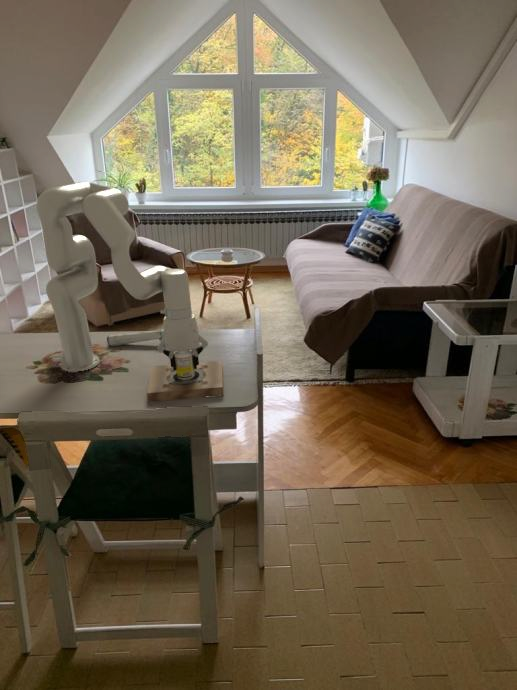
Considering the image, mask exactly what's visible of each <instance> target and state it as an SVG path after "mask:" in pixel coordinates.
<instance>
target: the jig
mask: <svg viewBox="0 0 517 690" xmlns="http://www.w3.org/2000/svg"><path fill="white" fill-rule="evenodd" d="M223 376H224V374H223V361H222V360H215V361H213V360H212V361H203V362H202V361H201V362H200V361H199V365H197V369H195V376H194V377H193V378H191V379H192V380H191V381H183V380H182V379H179V378H178V377H177V371H176V370H175V371H174V370H173V367H171V364H163V365H153V366H152V369H151V374H150V378H149V382H148V386H147V390H146V391H147V392H146V396H147V403H153V402H155V403H156V402H164V401H165V402H166V401H167V402H169V401H179V400H189V399H190V400H191V399H200V398H199V397H206V396H218V397H220V396H219V395H223V396H224V377H223ZM182 381H183V382H182ZM206 398H207V397H206Z"/></svg>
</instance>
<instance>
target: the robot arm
mask: <svg viewBox="0 0 517 690" xmlns="http://www.w3.org/2000/svg"><path fill="white" fill-rule="evenodd" d="M129 205H130V204H129V200H128V198H127V196H126V195H125V193H123V192H122V191H121V190H119V189H118V188H114V187H111V186H108V185H102V184H99V183H95V182H90V181H81V182H74V183H70V184H63V185H59V186H55V187H51V188H48V189H46V190H45V191H43V192H42V193H40V194H39V196H38V198H37V201H36V210H37V214H38V218H39V221H40V224H41V229H42V235H43V243H44V250H45V257H46V261H47V264H48V266H49V268H50V269H51V270H53V271H54V272H58V273H59V272H60V274H57V275H55V276H54V277H52V278H51V279H50V280H49V281H48V282H47V283H46V287H45V291H46V292H45V293H46V295H47V298H48V300H49V302H50V303H49V304H51V307H52V311H53V313H54V314H53V315H54V318H55V321H56V322H55V323H56V326H57V331H58V336H59V340H60V345H61V349H62V352H61V353H60V354H58V353H57V354H56V353H55V354H51V357H50V358H51V361H53V363H60V368H61V370H62V369H63V370H62V371H64V370H65V371H64V372H66V371H68V372H67V373H79V372H78V371H82V372H85V371H84V370H86V371H88V369H89V370H91V368H92V369H93V368H96V367H97V366H98V365H99V364H100V356H98V355H96V354H94V349H93V345H92V340H91V334H90V328H89V322H88V317H87V314H86V311H85V309H84V308H83V307H82V305H81V304H80V303H79V300H81V299H83V298H85V297H87V296H90V295H93V293H94V292H95V291H96V290H97V289H98V285H99V277H98V267H97V258H96V257H97V256H96V251H95V248H94V245H93V243H92V242H91V241H90V239H89V238H88V237H86V236H85V235H81V234H74V235H73V228H72V224H71V222H70V221H69V219H68V218H67V216H71V215H75V214H79V213H83V214H84V215H85V217H86V218H87V220H88V221H89V223H90V224H91V225H92V227H93V228H94V229H95V230H96V232H97V233H98V234H99V235H100V237H101V238H102V239H103V241H104V242H105V243H106V245H107V247H108V248H110V251H111V263H112V268H113V271H114V272H113V273H114V274H115V276H116V278H117V280H118V281H119V282H120V284H121V285H122V286H123V288H124V289H125V290H126V291H127V292H128V293H129V295H130V296H132V297H133V298H134V299H136V300H142V301H144V300H148V299H150V298H151V297H154V296H155V295H157V294H159V293H163V294H162V295H163V301H164V302H163V304H164V308H162V309H159V311H160V314H161V315H164V318H163V322H162V323H163V325H162V327H163V328H162V329H163V332H164V338H163V340H162V341H159V343H158V345H157V348H156V349H157V350H158V351H160V352H161V353H163V355H165V356H166V357H167V358H168V359H169V362H170V365H171V367H173V370H174V371H175V370H176V363H175V356H174V354H175V352H174V351H184V350H192V352H193V362H194V369H197V365H199V362H200V361H199V355H200V354H201V353H202V352H203V351H204V350H205V348H207V346H209V342H208V341H207V340H206V339H205V338H204V337H203V336H202V335H200V333H199V328H198V323H197V320H196V315H195V313H193V311H192V309H193V308H192V302H191V292H190V284H189V276H188V273H187V271H186V270H185V269H182V268H170V267H168V266H164V265H158V264H157V265H154V266H151V267H149V268H145V269H144V270H142V271H139V270H138V269H137V267H136V265H134V263H133V261H132V259H131V255H130V247H131V244H132V243H133V241H135V238H136V231H135V230H134V229H133V227H132V226H131V225H130V223H129V222H128V221H127V220H126V218H125V215H126V214H127V213H128V212H129V207H130V206H129ZM61 272H62V273H61ZM200 343H201V345H200ZM164 345H165V346H164Z"/></svg>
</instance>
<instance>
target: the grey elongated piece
mask: <svg viewBox="0 0 517 690" xmlns="http://www.w3.org/2000/svg"><path fill="white" fill-rule="evenodd" d="M163 338H164V332H163V328H162V329H160V330H159V329H158V330H147V331H140V332H129V333H119V332H117V333H116V334H111V335H108V336H107V337H106V342H107V345H108V347H114V346H118V347H120V346H122V345H129V344H134V343H141V342H148V341H154V340H159V342H161V341H162V340H163ZM163 347H165V345H164V346H163Z"/></svg>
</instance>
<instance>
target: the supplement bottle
mask: <svg viewBox="0 0 517 690" xmlns="http://www.w3.org/2000/svg"><path fill="white" fill-rule="evenodd" d="M174 356H175V363H176V371H177V377H178V378H179V379H182V380H181V381H183V380H184V381H186V380H190V379H191V378H193V377H194V376H195V369H194V362H193V352H192V350H184V351H176V352H174Z"/></svg>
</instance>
